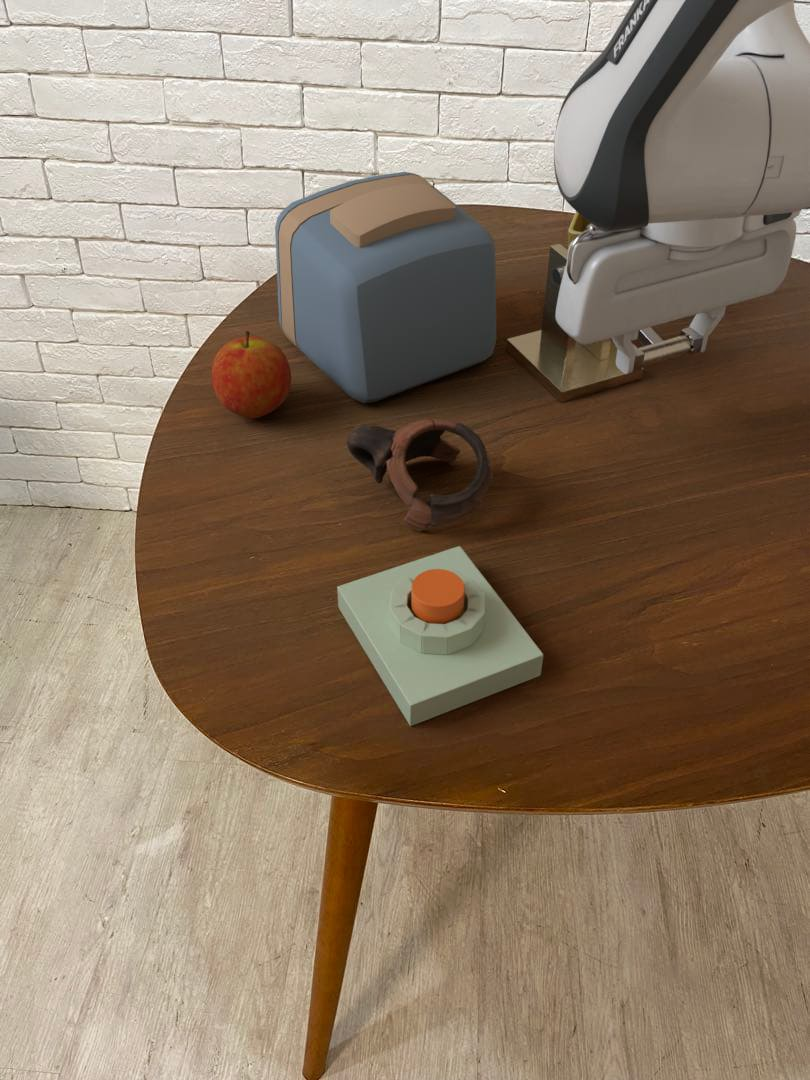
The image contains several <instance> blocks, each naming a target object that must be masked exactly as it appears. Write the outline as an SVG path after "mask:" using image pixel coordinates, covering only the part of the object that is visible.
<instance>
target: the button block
mask: <svg viewBox="0 0 810 1080" xmlns="http://www.w3.org/2000/svg"><path fill="white" fill-rule="evenodd" d="M432 569H443V570H448V571H451V572H453V573H455V574H456V575H458V576H459V577H460V578H461V579H462V581H463V583H464V586H465V595H464V609H463V611H462V613H461V615H460V616H459V617H458V618H457V619H455V620H453V621H451V622H449V623H445V624H432V623H428V622H425V621H423V620H421V619H420V618H418V617H417V616H416V615H415V614H414V612H413V610H412V606H411V590H412V583H413V581H414V579H415V578H416V577H417V576H418V575H419V574H421V573H422V572H425V571H427V570H432ZM336 590H337V607H338V609H339V611H340V612H341V614H342V616H343V618H344V620H345V621H346V623H347V624H348V626H349V627H350V629H351V631H352V633H353V634H354V636H355V638H356V639H357V641H358V642H359V644H360V646H361V647H362V649H363V651H364V653H365V654H366V656H367V658H368V659H369V661H370V663H371V664H372V665H373V668H374V669H375V670H376V672H377V674H378V676H379V677H380V679H381V680H382V682H383V684H384V685H385V687H386V688H387V690H388V692H389V694H390V695H391V698H392V699H393V700H394V702H395V704H396V706H397V707H398V708H399V710H400V712H401V714H402V716H403V717H404V718H405V720H406V722H407V724H408V726H410V727H413V726H415V725H418V724H420V723H422V722H425V721H427V720H430V719H433V718H435V717H438V716H441V715H443V714H445V713H448V712H451V711H453V710H456V709H458V708H461V707H464V706H466V705H469V704H471V703H473V702H476V701H478V700H479V701H480V700H481V699H484V698H487V697H489V696H492V695H494V694H497V693H500V692H503V691H504V690H507V689H510V688H512V687H514V686H517V685H520V684H523V683H525V682H528V681H531V680H533V679H535V678H539V677H541V675H542V670H543V669H542V668H543V661H544V653H543V652H542V650H541V649H540V648H539V647H538V645H537V644H536V643H535V642H534V641H533V639H532V638H531V637H530V635H529V633H528V632H527V631H526V629H524V627H523V626H522V624H521V623H520V622H519V621H518V620H517V618H516V617H515V616H514V614H513V613H512V612H511V610H510V608H508V606H507V605H506V604H505V603H504V602H503V600H502V599H501V597H500V596H499V595H498V593H497V592H496V591H495V589H493V587H492V585H491V584H490V583H489V582H488V581H487V579H486V578H485V577H484V575H483V574H482V572H481V571H480V570H479V568H478V567H477V566H476V564H474V562H473V561H472V560H471V558H470V557H469V556H468V554H467V553H466V552H465V550H464V549H463V548H462V547H461V546H460V545H458V546H455V547H451V548H449V549H446V550H443V551H439V552H437V553H434V554H431V555H428V556H424V557H422V558H419V559H416V560H413V561H410V562H407V563H404V564H400V565H398V566H395V567H392V568H389V569H385V570H383V571H380V572H377V573H374V574H371V575H368V576H365V577H361V578H358V579H356V580H353V581H350V582H347V583H344V584H341V585H338V586H336Z"/></svg>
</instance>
